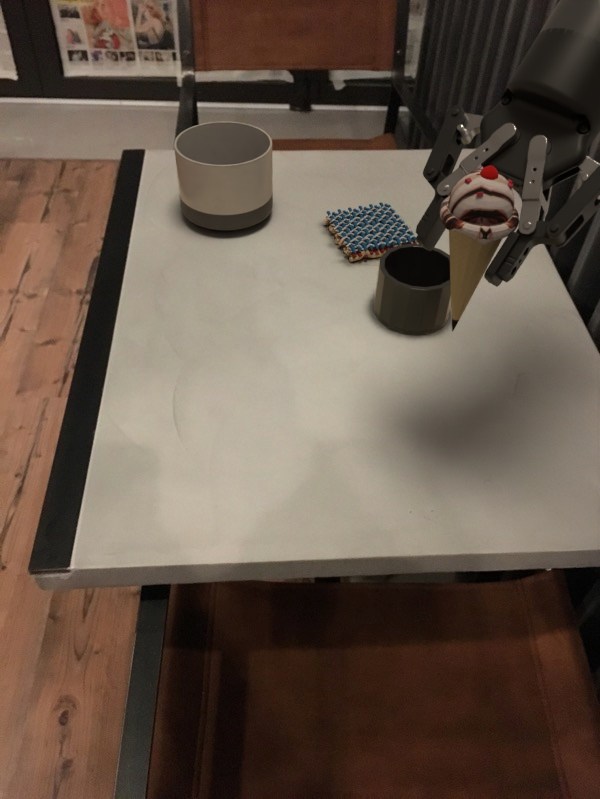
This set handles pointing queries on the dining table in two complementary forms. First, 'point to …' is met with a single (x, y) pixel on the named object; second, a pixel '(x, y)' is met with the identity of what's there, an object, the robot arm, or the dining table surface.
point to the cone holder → (413, 289)
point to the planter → (225, 174)
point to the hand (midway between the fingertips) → (456, 263)
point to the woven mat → (369, 230)
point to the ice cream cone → (476, 229)
